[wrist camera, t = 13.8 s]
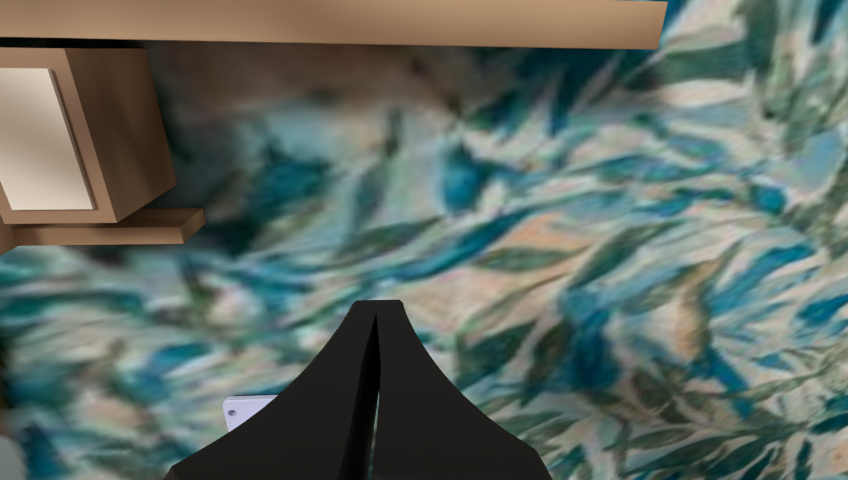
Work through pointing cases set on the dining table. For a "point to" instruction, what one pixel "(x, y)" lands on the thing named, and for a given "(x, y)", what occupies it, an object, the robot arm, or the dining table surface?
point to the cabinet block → (79, 135)
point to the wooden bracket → (317, 24)
